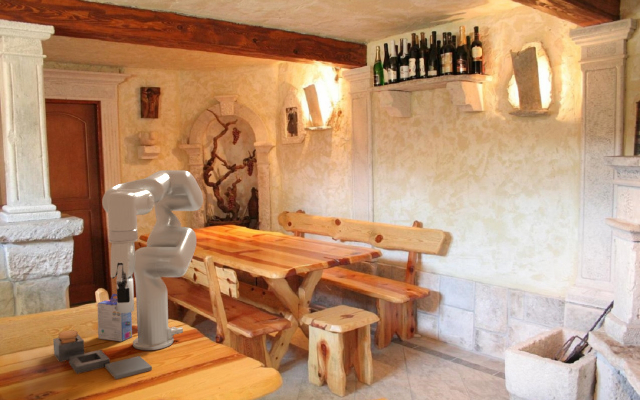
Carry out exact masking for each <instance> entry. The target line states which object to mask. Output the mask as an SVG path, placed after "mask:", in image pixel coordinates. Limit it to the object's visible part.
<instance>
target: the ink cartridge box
mask: <svg viewBox="0 0 640 400" xmlns="http://www.w3.org/2000/svg"><path fill="white" fill-rule="evenodd" d="M114 297H117V293H112V295H111V297H110V299H106V300H103V301H100V302H97V333H98V334H97V335H98V336H97V338H98V339H101V340H108V341H114V342H124V341H126V340H128V339H131V338H133V328H132V327H133V325H132V324H133V321H132V319H133V318H132V317H133V316H132V312H129V313H119V312H118V308H117V298H114Z"/></svg>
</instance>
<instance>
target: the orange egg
mask: <svg viewBox="0 0 640 400" xmlns="http://www.w3.org/2000/svg"><path fill="white" fill-rule="evenodd" d="M78 335H79V333H78V330H65V331H61V332H60V333H58V338H59V339H61V343H67V342H72V341H76V337H77V336H78Z"/></svg>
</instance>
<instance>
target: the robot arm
mask: <svg viewBox="0 0 640 400" xmlns="http://www.w3.org/2000/svg"><path fill="white" fill-rule="evenodd" d="M203 195H204V194H203V191H202V190H201V188H200V186H199V183H198V182H197V180H196V178H195V176H194V175H193V174H192V173H191V172H189V171H187V170H183V169H181V170H180V169H179V170H178V169H177V170H175V169H174V170H172V169H171V170H170V169H169V170H168V169H167V170H163V169H162V170H158V171H155V172H154V173H152V174H150V175H149V176H147V177H145V178H141V179H136V180H132V181H127V182H122V183H118V184H115V185H113V186H112V187H109V188H108V189H107V190H106V191H105V192H104V194H103V197H102V199H101V200H102V202H101V203H102V208H103V209H104V211H105V212H106V213H107V218H108V242H109V243H111V248H110V250H111V251H110V278H111V279H115V278H116V280H117V281H116V294H117V296H116V299H117V302H118V303H128V302H129V301H130V295H129V288H128V278H133V279H134V281H135V282H134V283H135V294H136V296H135V297H136V320H137V321H136V323H137V324H136V325H137V326H136V327H137V337H136V338H135V339H134V340H133V341H132V346H133V348H135V349H137V350H139V351H140V350H141V351H155V350H160V349H164V348H168V347H170V346H171V345H172V344H173V343H174V336H175V335H178V334H183V332H184V329H183V327H181V326H179V327H176V326H172V327H169V308H168V307H169V305H168V302H169V301H168V288H167V286H166V284H165V281H164V280H163V279H162V278H181V277H184V276H185V274H186V273H187V271H188V269H189V266H190V265H191V262H192V260H193V257H194V254H195V252H196V249H197V234H196V232H195V231H194V229H192V228H191V227H185V226H182V223H181V221H180V220H179V218H178V216H177V215H176V214H174V212H195V211H199V210H200V209H201V208H202V206H203V204H204V196H203ZM152 210H154V213H155V220H156V221H155V223H154V225H153V226H152V227H153V228H152V229H151V232H150V233H149V235H148V238H147V241H146V246H144V247H140V248H138V249H136V247H135V242H138V217H137V216H144V215H147V214H150V213H151V212H152ZM133 276H134V277H133ZM124 279H125V281H123V280H124Z"/></svg>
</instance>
